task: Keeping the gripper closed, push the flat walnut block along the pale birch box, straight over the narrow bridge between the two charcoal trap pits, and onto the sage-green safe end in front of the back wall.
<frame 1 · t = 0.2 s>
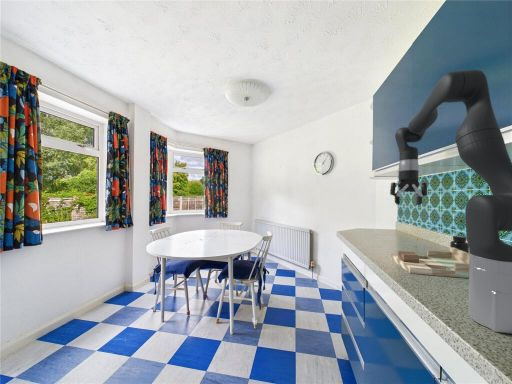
hand: (408, 204, 99), 28 cm above the worktop, tool pointing down, fingers open, 8 cm apart
supplement bottle: (459, 260, 106), on the worktop
walnut block: (408, 260, 97), point 2 cm above the worktop, touching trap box
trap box: (433, 267, 95), on the worktop
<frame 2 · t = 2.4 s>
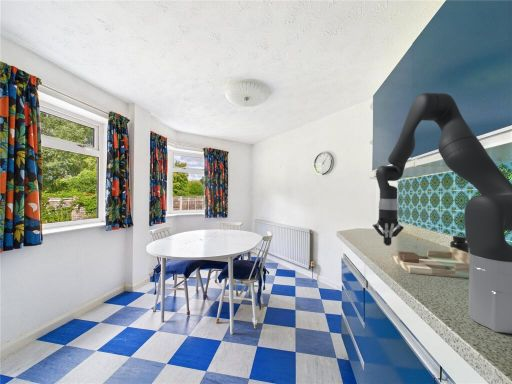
hand: (387, 245, 99), 9 cm above the worktop, tool pointing down, fingers closed
nothing on the worktop moved.
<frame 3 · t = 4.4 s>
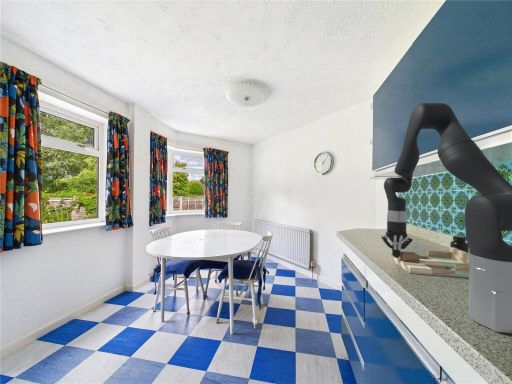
hand: (396, 257, 98), 3 cm above the worktop, tool pointing down, fingers closed
walnut block: (408, 260, 97), point 2 cm above the worktop, touching gripper, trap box
everything else where it was.
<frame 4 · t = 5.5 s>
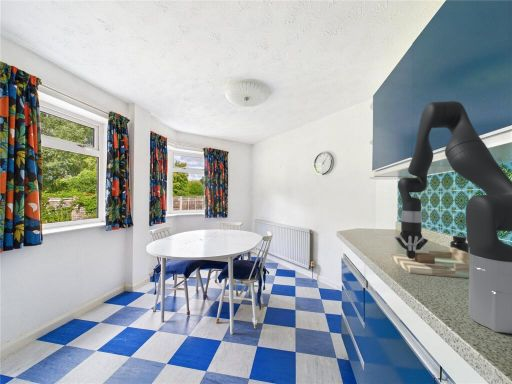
hand: (410, 258, 97), 4 cm above the worktop, tool pointing down, fingers closed
walnut block: (423, 261, 96), point 3 cm above the worktop, touching gripper
everything else where it was.
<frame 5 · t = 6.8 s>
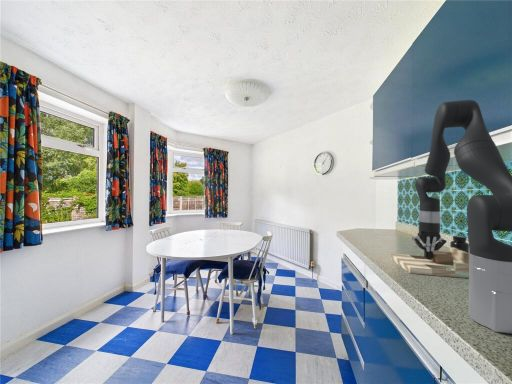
hand: (428, 259, 96), 4 cm above the worktop, tool pointing down, fingers closed
walnut block: (440, 262, 95), point 3 cm above the worktop, touching gripper, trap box
everything else where it was.
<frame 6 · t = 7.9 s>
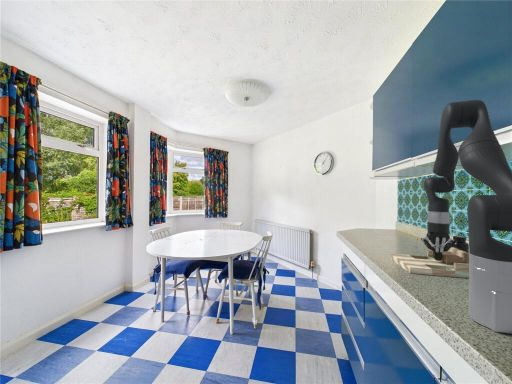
hand: (437, 260, 95), 4 cm above the worktop, tool pointing down, fingers closed
walnut block: (449, 263, 94), point 3 cm above the worktop
everything else where it was.
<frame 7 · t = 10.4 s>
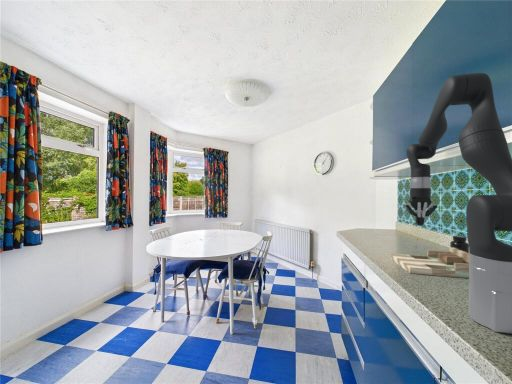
hand: (419, 225, 96), 19 cm above the worktop, tool pointing down, fingers closed
walnut block: (450, 263, 94), point 2 cm above the worktop, touching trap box
everything else where it was.
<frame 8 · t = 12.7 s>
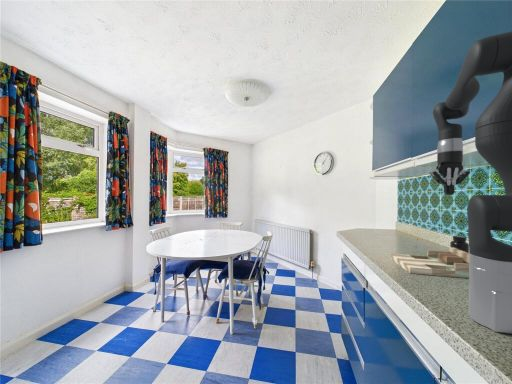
hand: (449, 194, 84), 33 cm above the worktop, tool pointing down, fingers closed
nothing on the worktop moved.
at the end: walnut block 1.0 cm from the target spot, point 2.5 cm above the worktop; walnut block tilted 0° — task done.
